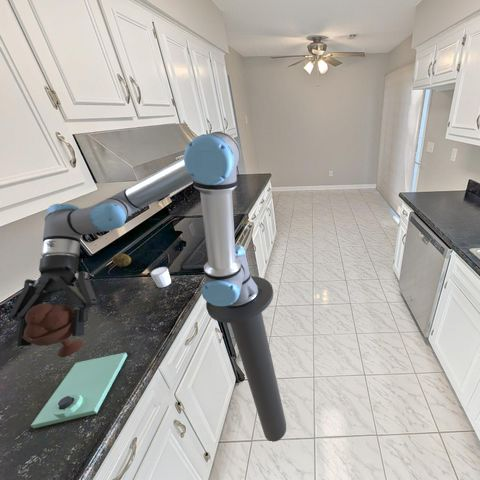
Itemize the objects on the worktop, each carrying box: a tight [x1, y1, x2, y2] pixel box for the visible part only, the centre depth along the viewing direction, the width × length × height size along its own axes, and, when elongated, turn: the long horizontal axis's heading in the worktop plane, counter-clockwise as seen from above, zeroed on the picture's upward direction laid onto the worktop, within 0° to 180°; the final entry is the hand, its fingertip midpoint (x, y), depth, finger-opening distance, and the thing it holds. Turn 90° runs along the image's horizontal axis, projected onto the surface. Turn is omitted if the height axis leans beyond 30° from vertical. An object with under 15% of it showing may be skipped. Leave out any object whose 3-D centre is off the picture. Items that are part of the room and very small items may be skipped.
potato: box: [111, 253, 132, 268], centre depth 129 cm, size 8×13×8 cm, turn 23°
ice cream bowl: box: [22, 302, 85, 358], centre depth 66 cm, size 11×11×15 cm
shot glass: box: [149, 266, 172, 289], centre depth 113 cm, size 7×7×7 cm
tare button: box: [58, 396, 73, 409], centre depth 65 cm, size 2×2×2 cm
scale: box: [30, 351, 128, 429], centre depth 71 cm, size 14×18×3 cm
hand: (51, 340), depth 64 cm, fingers closed on ice cream bowl, 11 cm apart
